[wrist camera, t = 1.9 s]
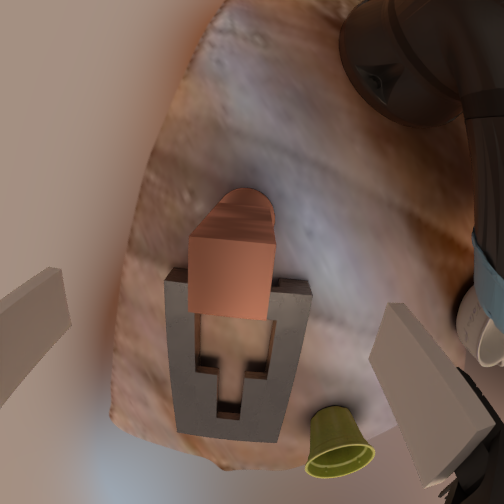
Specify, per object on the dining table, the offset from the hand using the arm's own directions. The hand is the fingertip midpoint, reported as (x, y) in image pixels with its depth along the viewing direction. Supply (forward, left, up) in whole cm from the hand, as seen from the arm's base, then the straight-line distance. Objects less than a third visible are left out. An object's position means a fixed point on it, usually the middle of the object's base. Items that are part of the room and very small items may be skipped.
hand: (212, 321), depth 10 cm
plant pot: (-15, +28, -19) cm, 37 cm away
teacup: (-33, +9, -19) cm, 39 cm away
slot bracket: (0, +18, -19) cm, 26 cm away
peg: (0, 0, -19) cm, 19 cm away
